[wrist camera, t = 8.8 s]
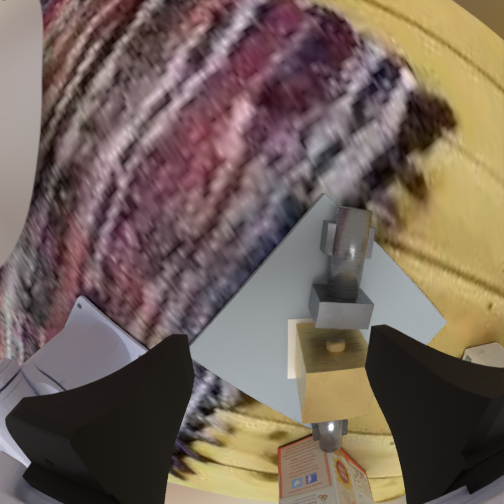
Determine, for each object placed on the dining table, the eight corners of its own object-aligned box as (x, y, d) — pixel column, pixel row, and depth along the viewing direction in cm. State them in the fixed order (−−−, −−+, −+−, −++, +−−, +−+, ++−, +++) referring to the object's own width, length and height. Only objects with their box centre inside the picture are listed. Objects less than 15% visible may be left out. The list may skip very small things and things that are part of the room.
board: (321, 428, 24) (322, 435, 24) (186, 347, 22) (184, 353, 22) (442, 318, 21) (447, 322, 20) (322, 193, 19) (325, 193, 18)
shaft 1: (354, 309, 20) (368, 329, 17) (308, 306, 20) (315, 328, 17) (371, 209, 18) (390, 215, 15) (322, 203, 19) (333, 207, 15)
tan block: (346, 369, 22) (366, 419, 16) (294, 374, 22) (302, 427, 16) (353, 314, 20) (381, 359, 14) (295, 319, 20) (306, 367, 15)
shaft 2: (304, 384, 22) (309, 410, 19) (346, 376, 22) (355, 400, 19) (310, 436, 24) (313, 459, 21) (345, 429, 24) (352, 451, 20)
